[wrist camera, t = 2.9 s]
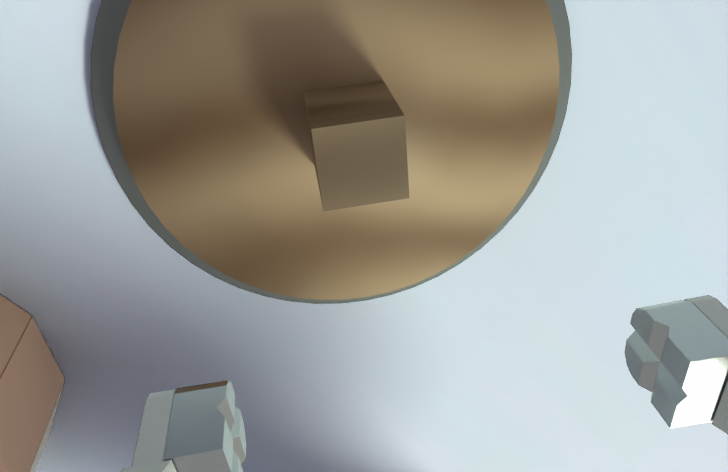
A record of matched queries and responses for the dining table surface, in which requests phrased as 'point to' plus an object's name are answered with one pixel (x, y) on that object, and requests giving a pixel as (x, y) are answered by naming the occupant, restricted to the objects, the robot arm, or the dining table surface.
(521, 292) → the dining table surface
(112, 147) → the tray
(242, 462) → the robot arm
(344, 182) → the lid
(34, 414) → the bowl
